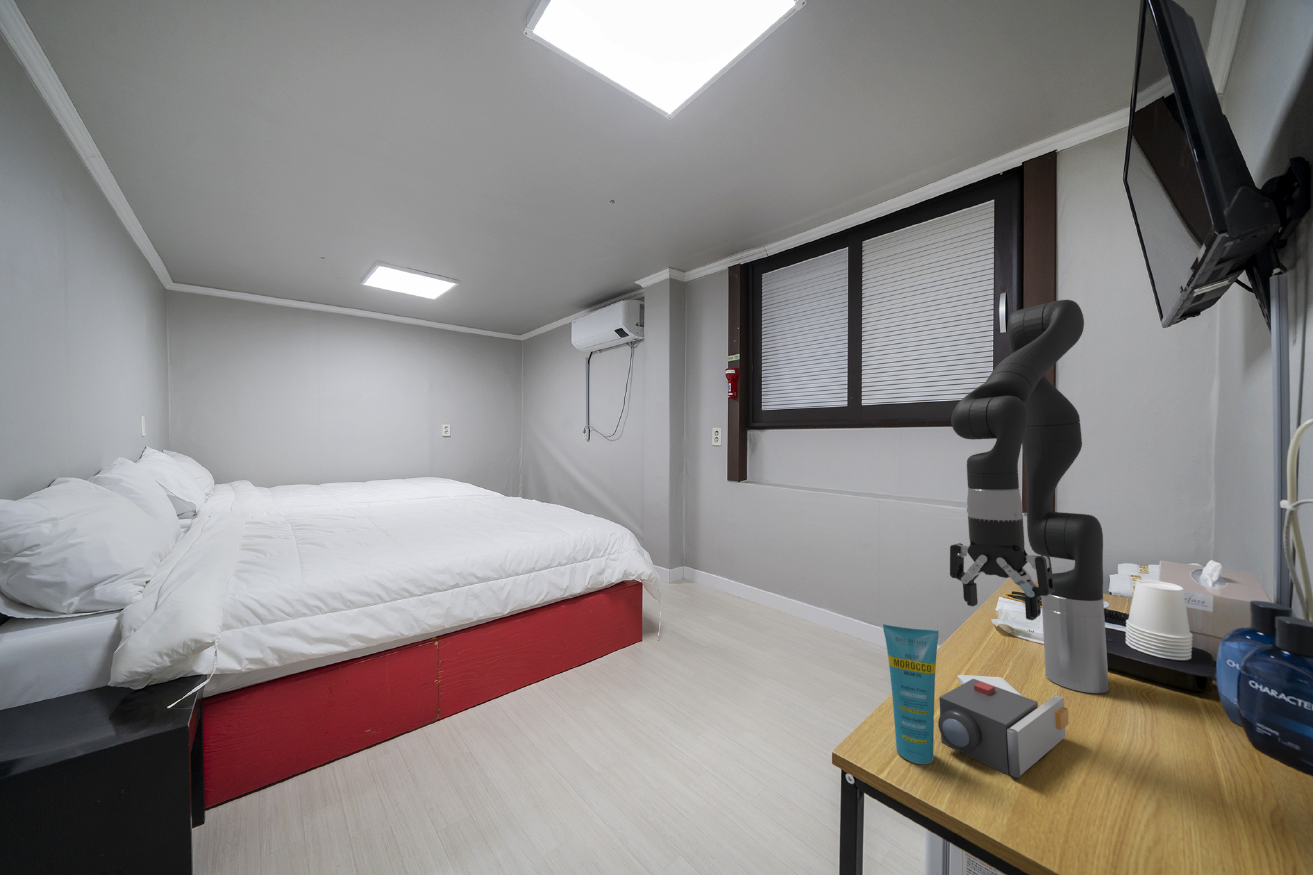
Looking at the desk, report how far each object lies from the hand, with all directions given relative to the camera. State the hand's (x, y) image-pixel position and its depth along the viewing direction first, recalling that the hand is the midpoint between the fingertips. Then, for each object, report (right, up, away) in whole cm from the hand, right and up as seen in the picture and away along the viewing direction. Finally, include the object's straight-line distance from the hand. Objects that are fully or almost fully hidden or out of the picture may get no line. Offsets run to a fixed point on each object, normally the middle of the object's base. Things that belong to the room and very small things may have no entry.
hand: (1000, 611), depth 77 cm
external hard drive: (+6, -20, +9) cm, 22 cm away
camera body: (-7, -19, -6) cm, 21 cm away
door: (-1, -18, -9) cm, 20 cm away
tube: (-19, -19, -8) cm, 28 cm away
